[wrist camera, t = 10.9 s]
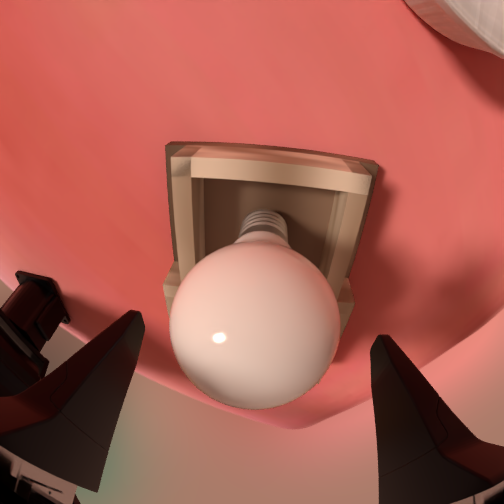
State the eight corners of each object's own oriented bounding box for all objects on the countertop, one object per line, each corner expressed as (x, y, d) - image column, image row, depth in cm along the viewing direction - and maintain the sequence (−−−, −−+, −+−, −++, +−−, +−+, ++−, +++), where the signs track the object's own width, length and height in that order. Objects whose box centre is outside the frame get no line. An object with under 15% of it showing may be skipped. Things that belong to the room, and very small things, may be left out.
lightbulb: (337, 232, 17) (380, 403, 8) (258, 281, 19) (241, 439, 10) (272, 151, 14) (261, 301, 5) (191, 217, 17) (113, 375, 8)
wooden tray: (190, 340, 25) (181, 370, 22) (171, 141, 15) (147, 156, 12) (316, 352, 25) (318, 383, 22) (373, 160, 15) (394, 180, 12)
